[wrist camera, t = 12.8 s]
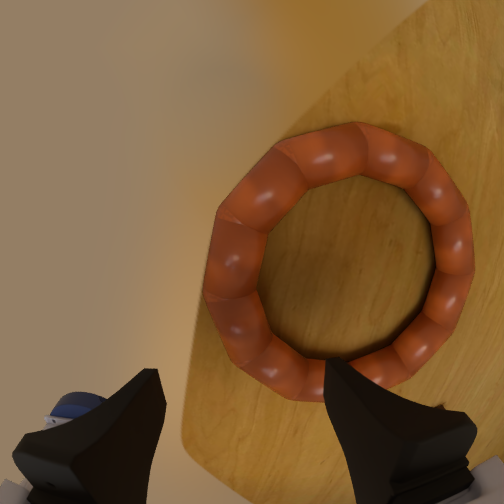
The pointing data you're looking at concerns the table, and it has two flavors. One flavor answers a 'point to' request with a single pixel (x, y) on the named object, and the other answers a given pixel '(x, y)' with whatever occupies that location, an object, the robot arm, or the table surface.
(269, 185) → the ring
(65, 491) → the robot arm
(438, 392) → the table surface
